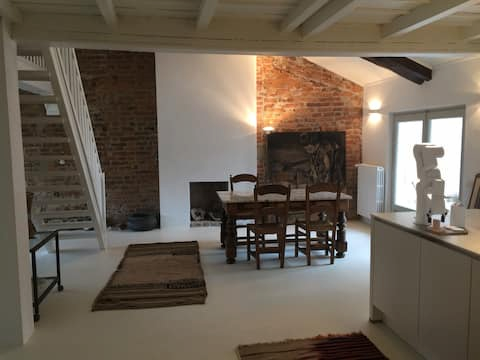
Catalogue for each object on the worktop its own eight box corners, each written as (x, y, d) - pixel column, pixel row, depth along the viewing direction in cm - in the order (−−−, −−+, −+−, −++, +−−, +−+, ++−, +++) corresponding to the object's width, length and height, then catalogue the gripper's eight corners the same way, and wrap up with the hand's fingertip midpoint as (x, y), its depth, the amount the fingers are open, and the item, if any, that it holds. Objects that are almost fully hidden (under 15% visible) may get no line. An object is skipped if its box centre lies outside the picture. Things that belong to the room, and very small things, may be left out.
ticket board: (425, 230, 281) (425, 226, 281) (451, 228, 285) (451, 225, 284) (440, 235, 266) (440, 231, 265) (467, 234, 269) (468, 230, 269)
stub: (426, 228, 279) (427, 218, 278) (434, 228, 280) (434, 217, 279) (438, 232, 267) (438, 221, 267) (445, 232, 268) (446, 221, 267)
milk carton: (459, 225, 296) (460, 199, 294) (464, 227, 289) (466, 201, 287) (449, 225, 295) (450, 199, 293) (455, 227, 288) (456, 201, 286)
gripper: (445, 196, 277) (443, 220, 279) (422, 197, 274) (421, 221, 276) (453, 198, 269) (451, 223, 272) (429, 199, 267) (427, 224, 269)
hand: (436, 222), depth 274 cm, fingers open, 9 cm apart
